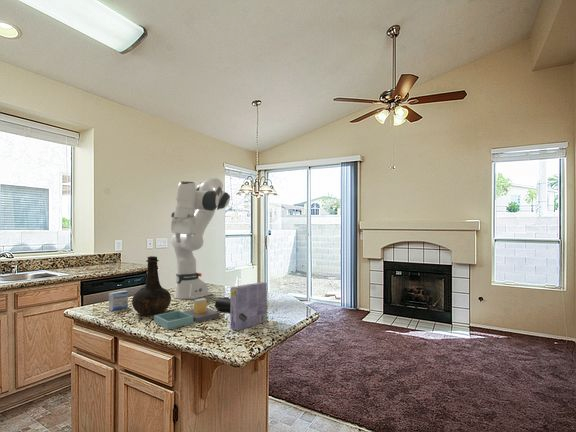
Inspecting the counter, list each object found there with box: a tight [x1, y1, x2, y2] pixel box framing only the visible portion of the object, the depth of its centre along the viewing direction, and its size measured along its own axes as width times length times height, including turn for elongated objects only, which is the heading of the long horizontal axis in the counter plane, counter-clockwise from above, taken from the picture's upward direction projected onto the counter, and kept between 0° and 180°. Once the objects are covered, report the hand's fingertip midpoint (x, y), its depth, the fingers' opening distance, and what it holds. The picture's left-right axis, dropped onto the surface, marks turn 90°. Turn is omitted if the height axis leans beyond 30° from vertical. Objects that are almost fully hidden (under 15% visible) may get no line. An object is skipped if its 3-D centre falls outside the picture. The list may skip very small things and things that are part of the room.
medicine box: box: [108, 290, 129, 312], centre depth 163 cm, size 8×4×9 cm, turn 143°
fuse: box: [193, 297, 207, 314], centre depth 147 cm, size 5×3×8 cm, turn 135°
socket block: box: [182, 307, 220, 324], centre depth 147 cm, size 12×14×2 cm
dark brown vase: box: [131, 255, 172, 316], centre depth 155 cm, size 18×18×28 cm
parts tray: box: [153, 310, 194, 330], centre depth 138 cm, size 12×14×4 cm
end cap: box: [214, 296, 231, 313], centre depth 158 cm, size 10×7×7 cm
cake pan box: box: [230, 281, 268, 332], centre depth 137 cm, size 19×5×18 cm, turn 141°
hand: (182, 243), depth 149 cm, fingers open, 8 cm apart
